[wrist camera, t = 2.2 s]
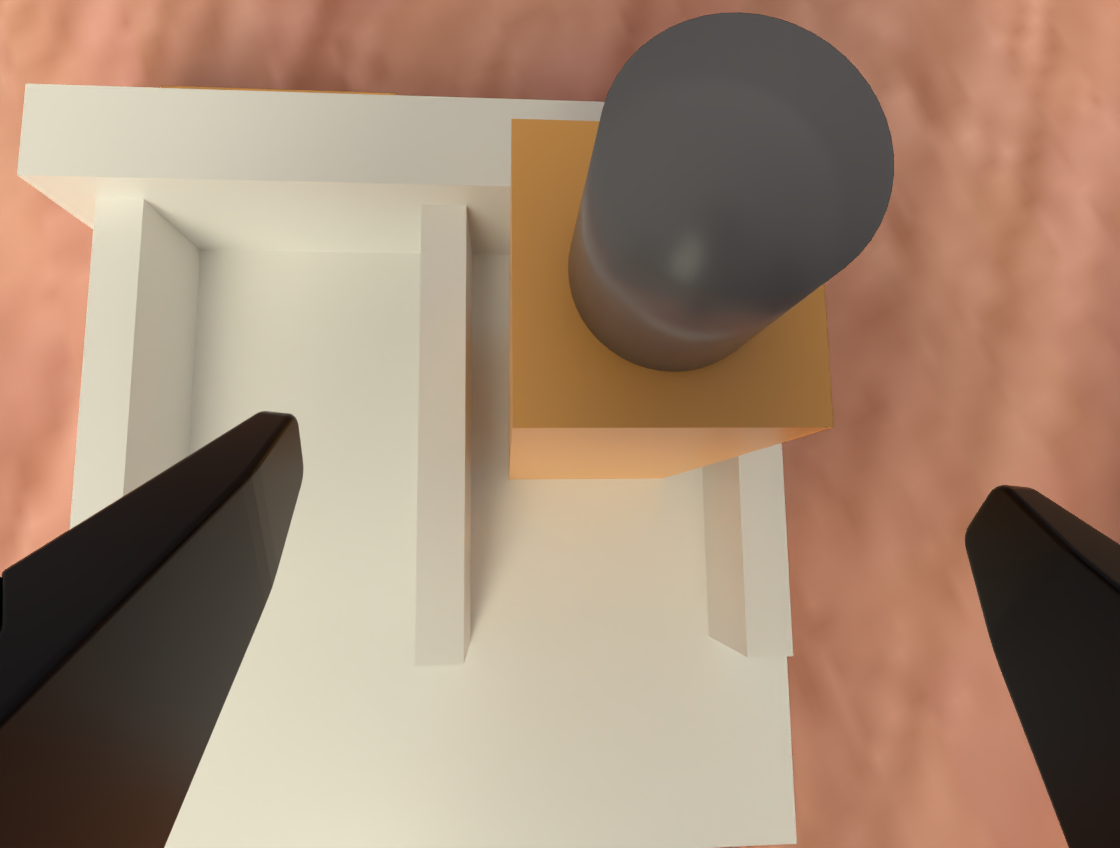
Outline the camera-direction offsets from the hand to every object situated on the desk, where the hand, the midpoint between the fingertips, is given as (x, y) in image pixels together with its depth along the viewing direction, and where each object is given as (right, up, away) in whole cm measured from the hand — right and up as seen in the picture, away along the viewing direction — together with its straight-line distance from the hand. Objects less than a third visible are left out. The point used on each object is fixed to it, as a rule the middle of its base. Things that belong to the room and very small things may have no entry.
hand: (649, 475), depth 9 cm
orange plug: (-1, +1, +10) cm, 10 cm away
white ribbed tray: (-4, -1, +10) cm, 11 cm away
